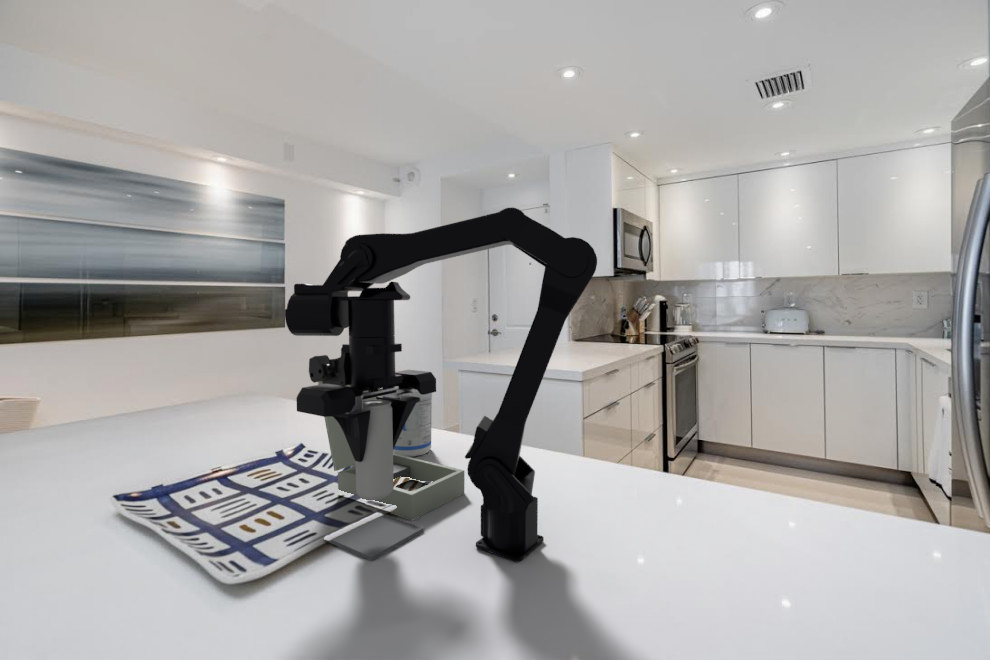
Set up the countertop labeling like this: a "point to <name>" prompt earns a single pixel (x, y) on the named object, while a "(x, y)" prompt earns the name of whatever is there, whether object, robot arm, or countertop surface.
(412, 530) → the pad
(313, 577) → the countertop surface
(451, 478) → the case
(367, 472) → the beverage can
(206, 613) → the countertop surface
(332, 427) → the lid
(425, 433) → the supplement tub
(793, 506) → the countertop surface
